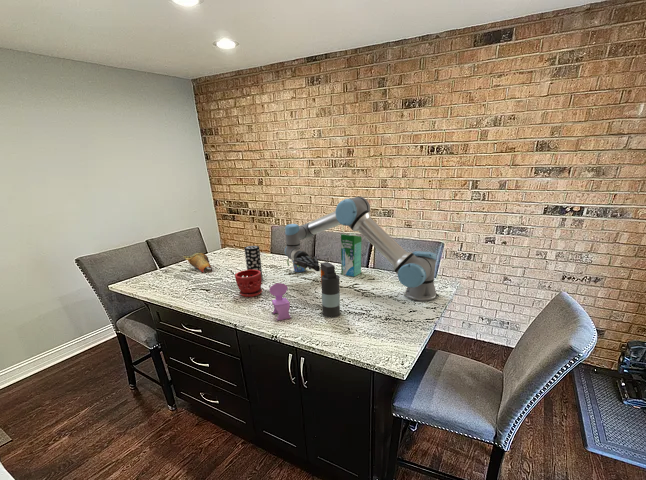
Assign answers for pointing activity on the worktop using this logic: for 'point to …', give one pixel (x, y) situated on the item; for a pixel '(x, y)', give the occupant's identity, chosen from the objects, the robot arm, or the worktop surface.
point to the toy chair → (280, 301)
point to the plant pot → (249, 282)
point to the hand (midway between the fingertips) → (318, 268)
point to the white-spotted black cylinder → (253, 258)
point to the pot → (198, 261)
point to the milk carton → (350, 254)
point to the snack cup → (297, 267)
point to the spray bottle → (330, 291)
